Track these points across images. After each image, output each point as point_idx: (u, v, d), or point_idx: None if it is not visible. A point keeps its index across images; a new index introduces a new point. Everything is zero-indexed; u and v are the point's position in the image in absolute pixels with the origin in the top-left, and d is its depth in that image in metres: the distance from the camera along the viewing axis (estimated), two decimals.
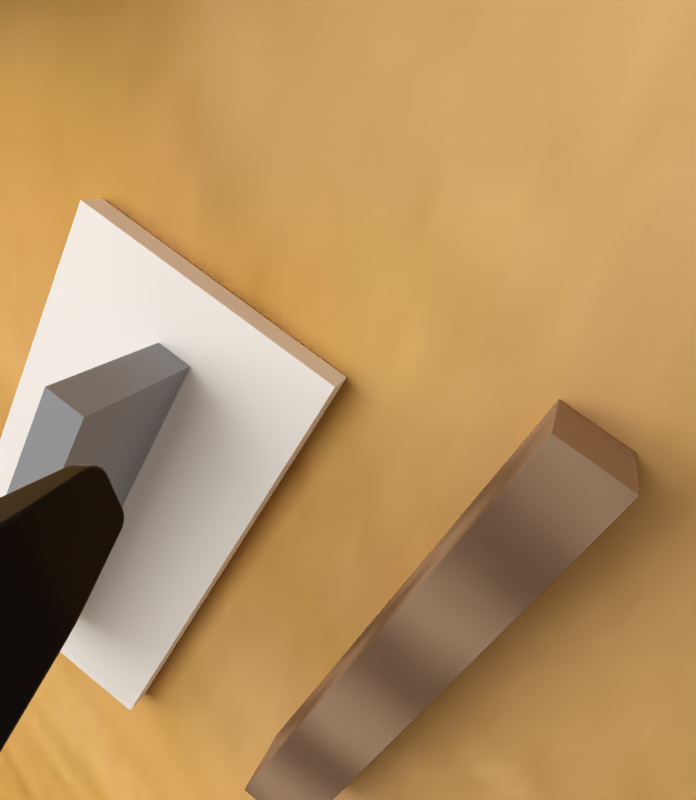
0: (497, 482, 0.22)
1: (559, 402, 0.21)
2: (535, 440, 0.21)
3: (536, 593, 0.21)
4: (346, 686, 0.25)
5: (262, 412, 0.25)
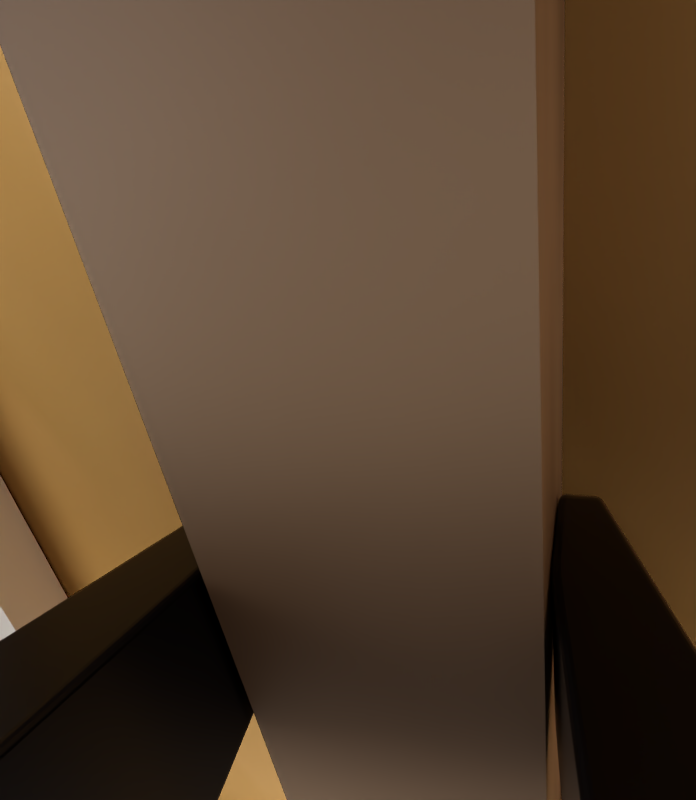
0: None
1: None
2: None
3: None
4: (304, 773, 0.07)
5: None
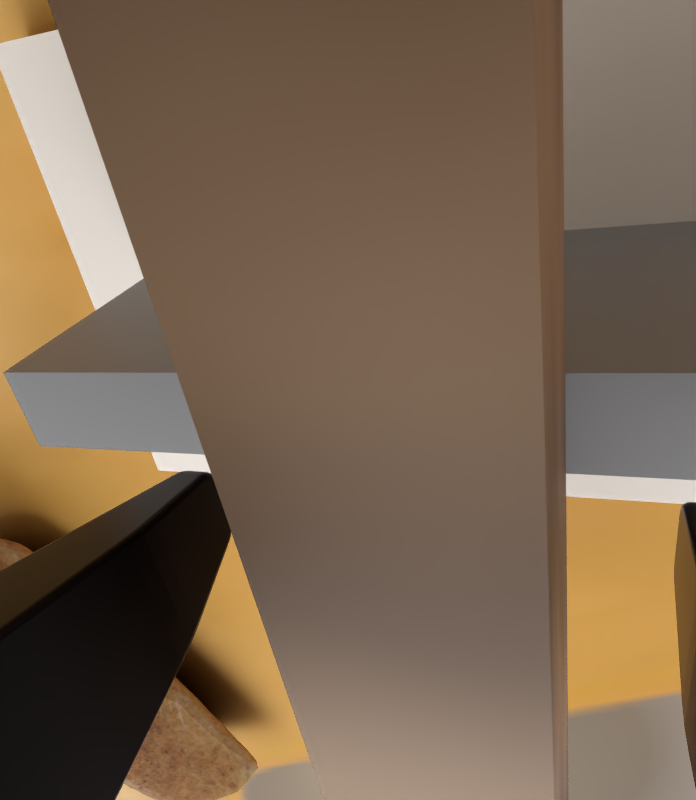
0: None
1: None
2: None
3: None
4: (324, 724, 0.08)
5: None
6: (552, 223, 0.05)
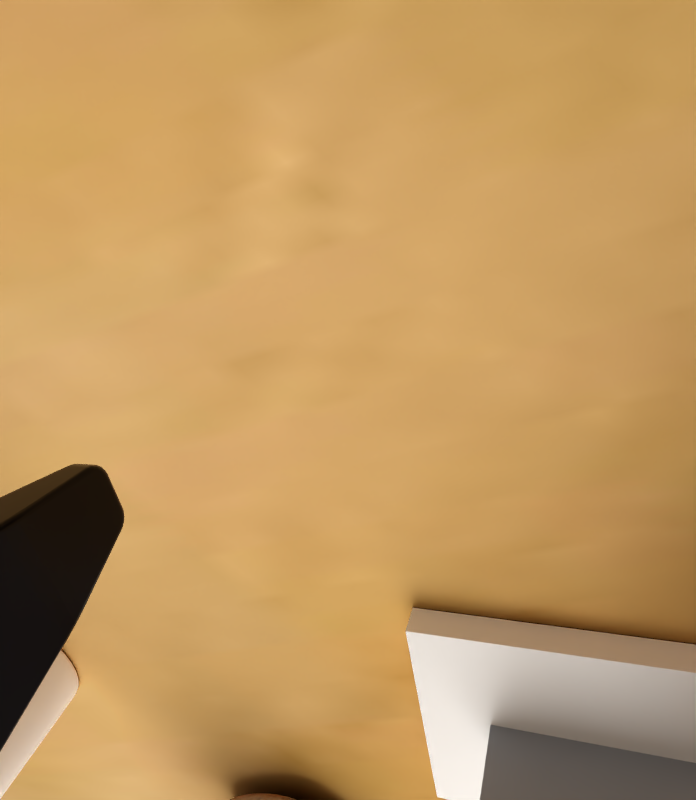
0: None
1: None
2: None
3: None
4: None
5: (477, 671, 0.26)
6: None
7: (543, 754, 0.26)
